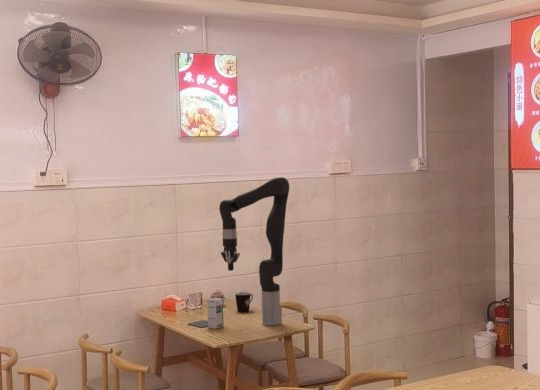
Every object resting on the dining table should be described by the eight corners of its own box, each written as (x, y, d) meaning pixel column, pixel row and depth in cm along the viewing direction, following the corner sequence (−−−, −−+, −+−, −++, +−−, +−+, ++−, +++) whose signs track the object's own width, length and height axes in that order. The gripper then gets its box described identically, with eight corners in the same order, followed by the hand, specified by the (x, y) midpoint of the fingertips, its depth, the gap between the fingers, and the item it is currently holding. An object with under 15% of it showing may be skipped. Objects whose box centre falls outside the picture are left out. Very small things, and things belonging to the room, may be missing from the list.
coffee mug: (238, 313, 386) (238, 295, 386) (233, 310, 394) (232, 293, 394) (258, 311, 391) (257, 293, 390) (252, 308, 399) (252, 291, 398)
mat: (218, 324, 361) (218, 323, 361) (202, 327, 353) (202, 326, 353) (203, 320, 369) (203, 320, 369) (187, 324, 361) (187, 323, 361)
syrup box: (216, 329, 350) (215, 300, 349) (207, 327, 354) (206, 299, 353) (223, 326, 355) (223, 298, 354) (215, 325, 358) (214, 297, 358)
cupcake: (211, 304, 414) (210, 287, 414) (226, 304, 413) (226, 287, 413) (208, 307, 405) (207, 290, 405) (224, 307, 404) (223, 290, 404)
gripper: (243, 237, 365) (244, 270, 366) (226, 236, 374) (227, 268, 375) (232, 238, 360) (233, 272, 360) (216, 237, 369) (217, 270, 370)
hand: (230, 270), depth 368 cm, fingers closed
